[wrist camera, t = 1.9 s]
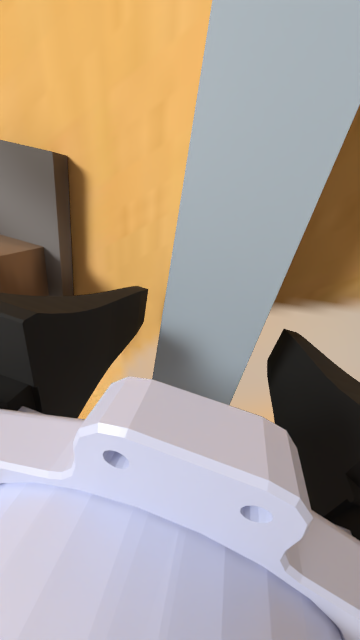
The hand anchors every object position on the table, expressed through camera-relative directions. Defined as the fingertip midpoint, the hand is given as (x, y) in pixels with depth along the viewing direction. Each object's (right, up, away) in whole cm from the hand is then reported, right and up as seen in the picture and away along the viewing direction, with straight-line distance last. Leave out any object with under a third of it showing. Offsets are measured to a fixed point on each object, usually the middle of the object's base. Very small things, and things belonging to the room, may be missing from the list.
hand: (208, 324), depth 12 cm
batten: (0, +1, +2) cm, 2 cm away
